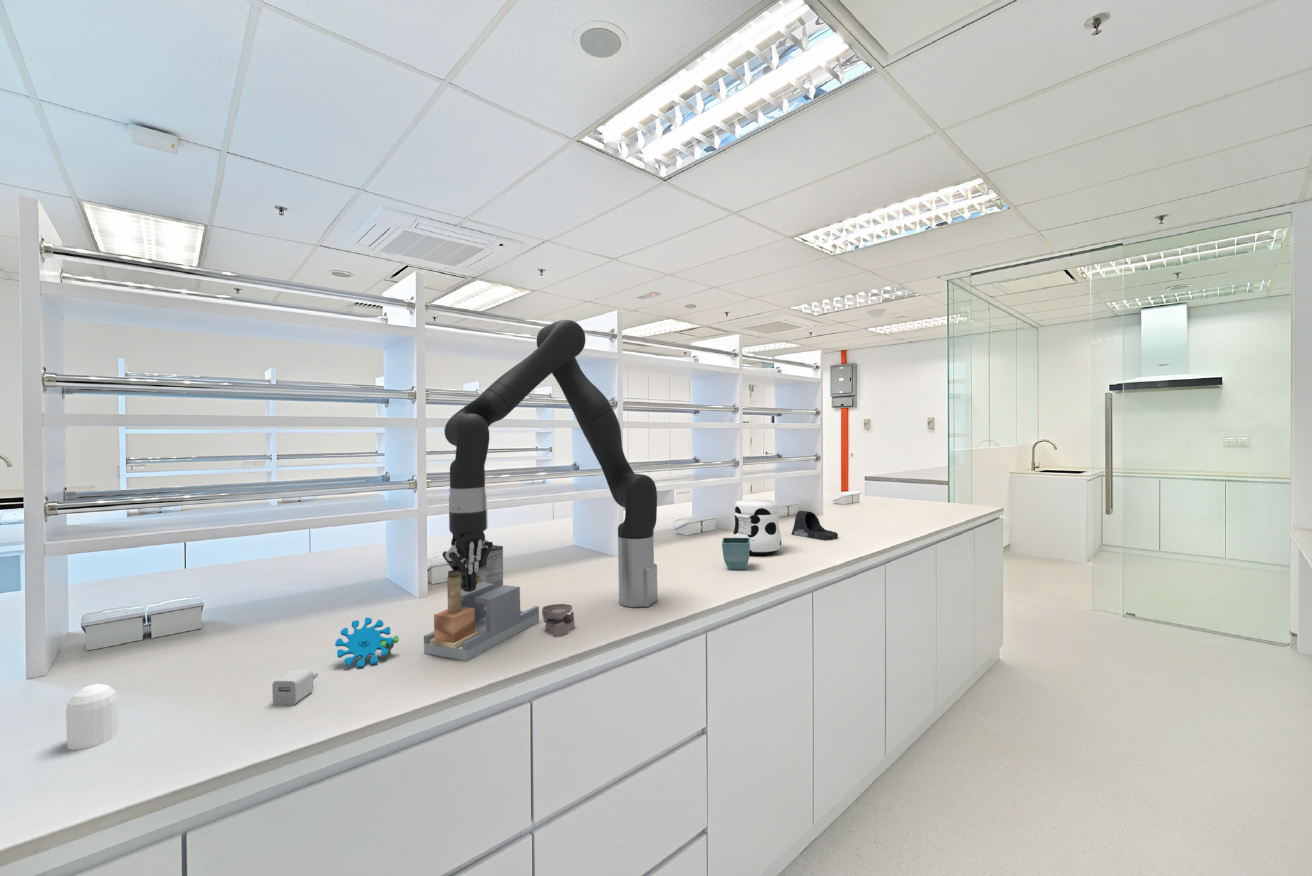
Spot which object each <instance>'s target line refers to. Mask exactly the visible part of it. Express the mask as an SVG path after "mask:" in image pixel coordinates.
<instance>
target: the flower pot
mask: <svg viewBox="0 0 1312 876" xmlns="http://www.w3.org/2000/svg"><path fill="white" fill-rule="evenodd" d="M721 548H722V557H723V560H724V563H725V565H726V567H727V569H728V570H739V571H740V570H744V571H745V570H746V568H747V566H748V564H749V560H750V554H749V551H750V538H733V537H723V538H722V540H721Z"/></svg>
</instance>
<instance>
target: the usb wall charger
mask: <svg viewBox="0 0 1312 876" xmlns="http://www.w3.org/2000/svg"><path fill="white" fill-rule="evenodd" d="M318 677H319V673H318V672H316V673H315V674H314V671H312V670H311V669H293V670H291V671H289V672H287V673H286V674H284V675H283V676H281V677H279V678H278V679H277V680H274V681H273V682H272V684H271V686H272V689H271V690H272V692H271V693H272V703H273V704H274V705H276V706H280V705H281V706H294V705H296V704H297V703H298V702H300V701H301V700H303V699H304V698H305V697H307V696H308V695H309V694H311V693H312V692H314V680H316V679H317V678H318Z"/></svg>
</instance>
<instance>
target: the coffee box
mask: <svg viewBox="0 0 1312 876" xmlns="http://www.w3.org/2000/svg"><path fill="white" fill-rule="evenodd" d="M480 560H481V559H480ZM465 567H466V564H465ZM476 580H477V581H476V582H477V583H480V582H483V583H491V584H495V588H494V589H497V588H499V587H502V586H504V546H502V545H495V544H493V546H492V548H491V550H490V553H489V555H488V557H487V559H486V562H485V564H484V566H483V567H482V568H481V567H480V568H479V569H478V572H476ZM460 581H461V589H462V575H461V573H460ZM494 589H492V590H494ZM492 590H489V591H487V592H490V591H492ZM487 592H484V594H485V593H487ZM484 606H485V608H486V604H484Z"/></svg>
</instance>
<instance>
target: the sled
mask: <svg viewBox="0 0 1312 876" xmlns="http://www.w3.org/2000/svg"><path fill="white" fill-rule="evenodd" d="M446 583H447V584H446V587H447V590H446V591H447V609H444V610H442V611H440V612H437V613H435V614H433V626H434V628H433V632H434V638H433V639H431V640H430V644H433V645H438V646H444V647H449V648H457V647H459V646H461V645H462V643H463V642H465V641H467V640H469V639H471V638H473V637H475V636H477V635H479V632H475V608H468V607H461V581H460V572H459V570H452V569H451V570H448V571H447V578H446Z"/></svg>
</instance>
